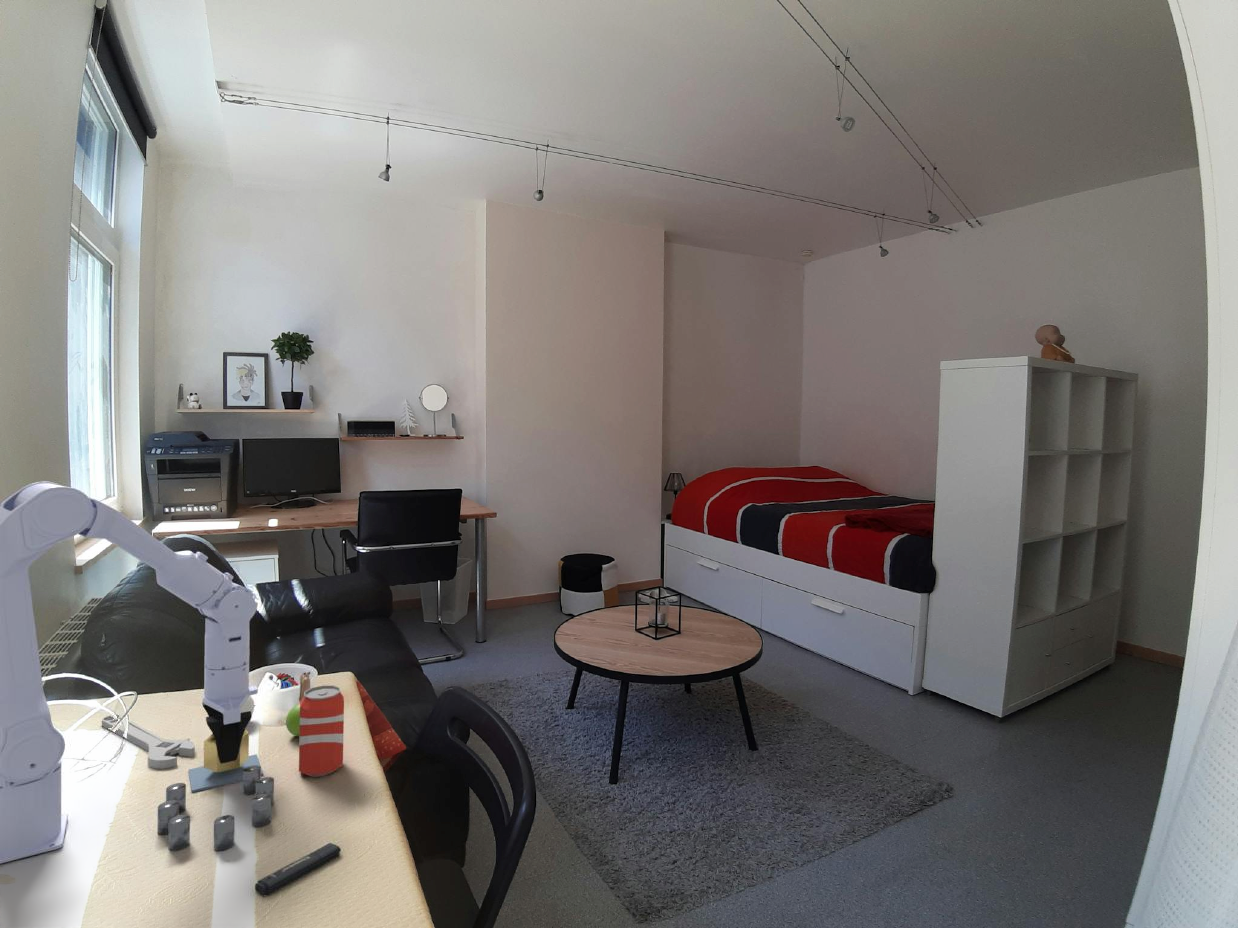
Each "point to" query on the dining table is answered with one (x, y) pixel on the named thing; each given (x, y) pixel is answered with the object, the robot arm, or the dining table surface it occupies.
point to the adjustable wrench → (153, 743)
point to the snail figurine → (297, 706)
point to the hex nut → (213, 761)
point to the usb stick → (297, 869)
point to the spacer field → (223, 825)
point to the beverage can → (321, 730)
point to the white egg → (248, 705)
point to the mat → (219, 775)
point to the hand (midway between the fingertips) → (226, 753)
